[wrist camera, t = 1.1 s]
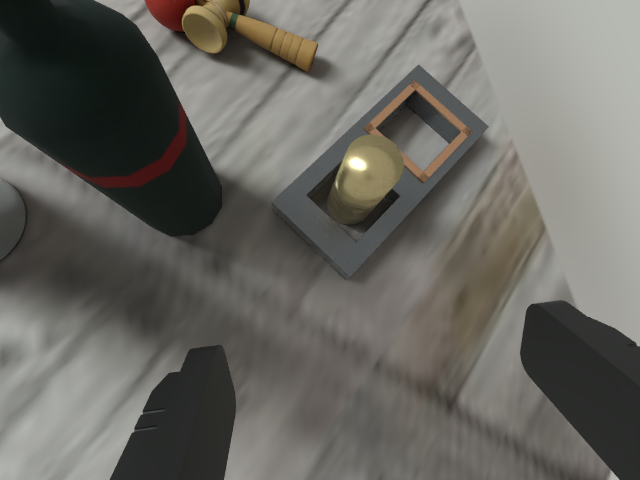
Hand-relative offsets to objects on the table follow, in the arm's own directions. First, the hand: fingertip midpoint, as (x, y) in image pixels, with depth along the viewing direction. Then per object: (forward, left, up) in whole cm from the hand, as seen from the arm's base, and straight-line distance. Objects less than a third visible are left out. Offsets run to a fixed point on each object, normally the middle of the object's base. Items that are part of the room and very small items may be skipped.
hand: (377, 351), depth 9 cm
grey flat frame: (-5, +17, -24) cm, 30 cm away
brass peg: (-5, +12, -24) cm, 27 cm away
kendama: (-27, +17, -24) cm, 40 cm away
